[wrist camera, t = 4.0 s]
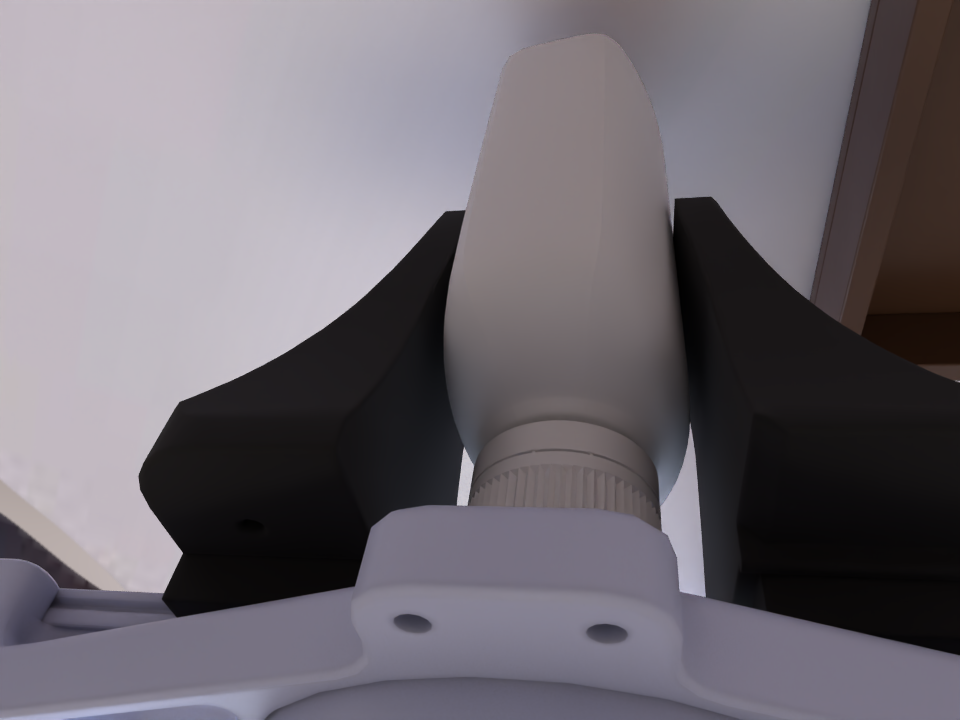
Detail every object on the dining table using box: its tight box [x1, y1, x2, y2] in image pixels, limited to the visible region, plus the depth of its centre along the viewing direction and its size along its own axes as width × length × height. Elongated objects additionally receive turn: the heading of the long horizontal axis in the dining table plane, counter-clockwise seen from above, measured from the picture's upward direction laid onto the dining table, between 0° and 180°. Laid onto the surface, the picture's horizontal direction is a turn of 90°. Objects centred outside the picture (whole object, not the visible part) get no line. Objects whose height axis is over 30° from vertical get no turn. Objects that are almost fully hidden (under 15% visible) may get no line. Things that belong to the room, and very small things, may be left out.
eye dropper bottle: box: [444, 33, 690, 532], centre depth 12 cm, size 4×6×12 cm
